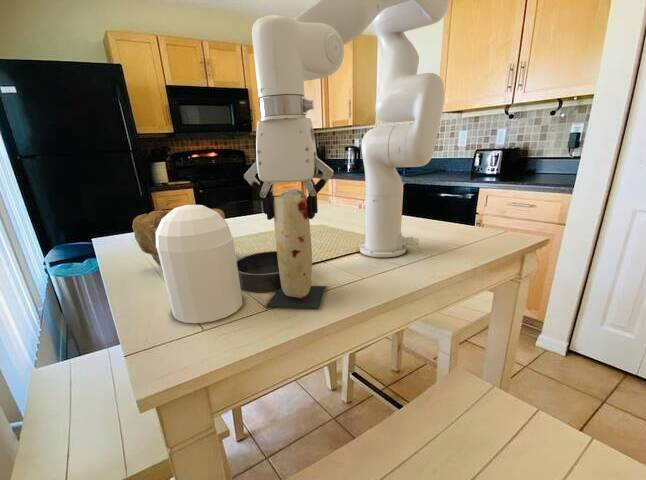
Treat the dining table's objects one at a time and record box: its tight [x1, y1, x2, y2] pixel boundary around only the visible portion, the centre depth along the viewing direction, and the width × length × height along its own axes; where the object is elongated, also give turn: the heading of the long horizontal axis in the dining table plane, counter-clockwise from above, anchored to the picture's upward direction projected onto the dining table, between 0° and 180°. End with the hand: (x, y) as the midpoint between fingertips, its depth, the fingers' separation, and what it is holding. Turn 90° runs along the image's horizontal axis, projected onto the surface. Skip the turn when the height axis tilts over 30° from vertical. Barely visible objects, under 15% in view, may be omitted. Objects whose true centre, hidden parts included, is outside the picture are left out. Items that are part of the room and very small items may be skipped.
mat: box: [266, 285, 327, 310], centre depth 68 cm, size 10×10×1 cm
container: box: [156, 204, 243, 324], centre depth 63 cm, size 14×13×20 cm
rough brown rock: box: [131, 208, 226, 268], centre depth 85 cm, size 23×17×15 cm
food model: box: [273, 188, 313, 298], centre depth 64 cm, size 10×7×20 cm
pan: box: [236, 250, 282, 293], centre depth 78 cm, size 16×16×4 cm
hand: (291, 217), depth 62 cm, fingers closed on food model, 7 cm apart
